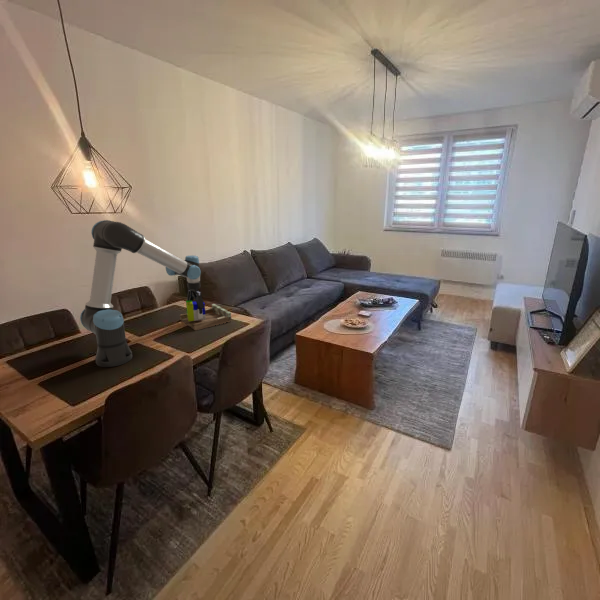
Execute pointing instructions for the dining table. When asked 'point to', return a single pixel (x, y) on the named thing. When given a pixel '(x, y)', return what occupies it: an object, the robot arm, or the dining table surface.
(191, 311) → the puzzle toy
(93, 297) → the robot arm
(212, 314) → the board
